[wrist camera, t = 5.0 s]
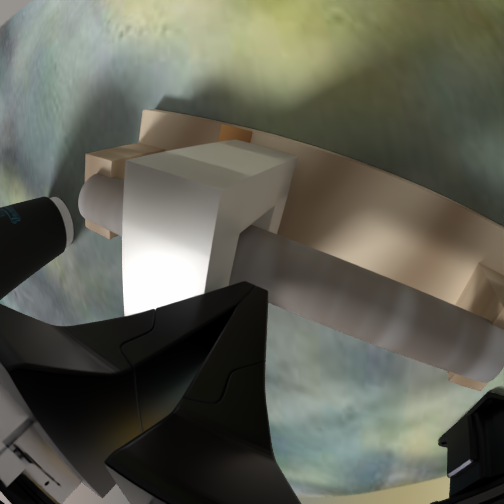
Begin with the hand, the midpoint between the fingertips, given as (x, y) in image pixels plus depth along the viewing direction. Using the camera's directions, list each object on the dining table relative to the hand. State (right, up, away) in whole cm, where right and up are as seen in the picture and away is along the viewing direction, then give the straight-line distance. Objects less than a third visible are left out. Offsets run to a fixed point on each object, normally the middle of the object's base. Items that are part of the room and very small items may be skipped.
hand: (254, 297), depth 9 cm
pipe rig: (+3, +3, +6) cm, 7 cm away
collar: (0, +3, +5) cm, 6 cm away
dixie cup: (-17, +4, +15) cm, 23 cm away
